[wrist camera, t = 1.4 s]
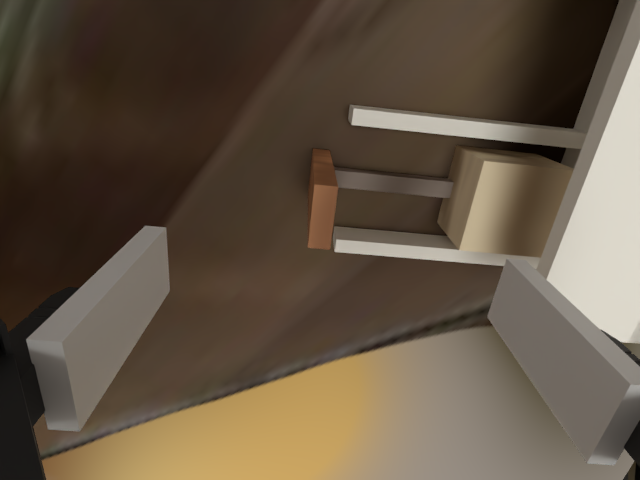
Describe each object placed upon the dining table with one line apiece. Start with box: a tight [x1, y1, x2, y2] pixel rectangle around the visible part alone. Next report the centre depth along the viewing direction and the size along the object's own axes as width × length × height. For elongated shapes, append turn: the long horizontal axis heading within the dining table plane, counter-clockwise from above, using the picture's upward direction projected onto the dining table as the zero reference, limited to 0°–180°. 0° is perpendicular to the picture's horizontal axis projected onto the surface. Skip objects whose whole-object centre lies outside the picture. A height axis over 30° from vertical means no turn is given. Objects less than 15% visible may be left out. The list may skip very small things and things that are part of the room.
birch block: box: [308, 145, 574, 258], centre depth 25 cm, size 16×6×9 cm, turn 84°
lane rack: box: [333, 0, 640, 343], centre depth 21 cm, size 17×28×11 cm, turn 174°
